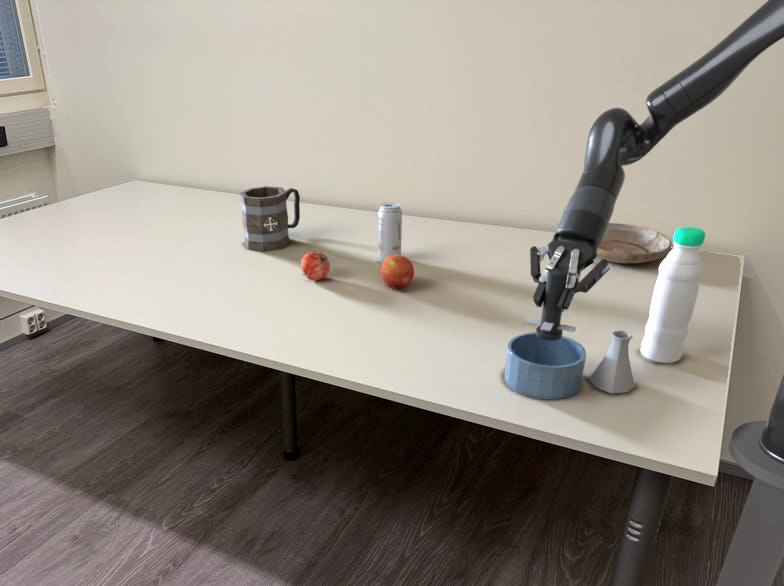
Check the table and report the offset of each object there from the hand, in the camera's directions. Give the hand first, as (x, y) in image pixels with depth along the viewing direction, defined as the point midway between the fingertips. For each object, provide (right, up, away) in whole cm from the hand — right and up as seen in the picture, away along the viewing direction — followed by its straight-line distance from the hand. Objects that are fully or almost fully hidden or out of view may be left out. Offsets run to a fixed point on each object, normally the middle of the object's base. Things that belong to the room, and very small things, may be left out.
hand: (548, 307), depth 113 cm
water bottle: (+27, -8, +15) cm, 32 cm away
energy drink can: (-19, +18, +66) cm, 70 cm away
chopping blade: (+2, -5, +4) cm, 7 cm away
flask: (+14, -13, +7) cm, 20 cm away
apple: (-19, +9, +49) cm, 54 cm away
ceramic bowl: (+41, +18, +61) cm, 75 cm away
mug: (-50, +26, +84) cm, 101 cm away
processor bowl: (+2, -13, +9) cm, 16 cm away
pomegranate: (-39, +12, +57) cm, 70 cm away
